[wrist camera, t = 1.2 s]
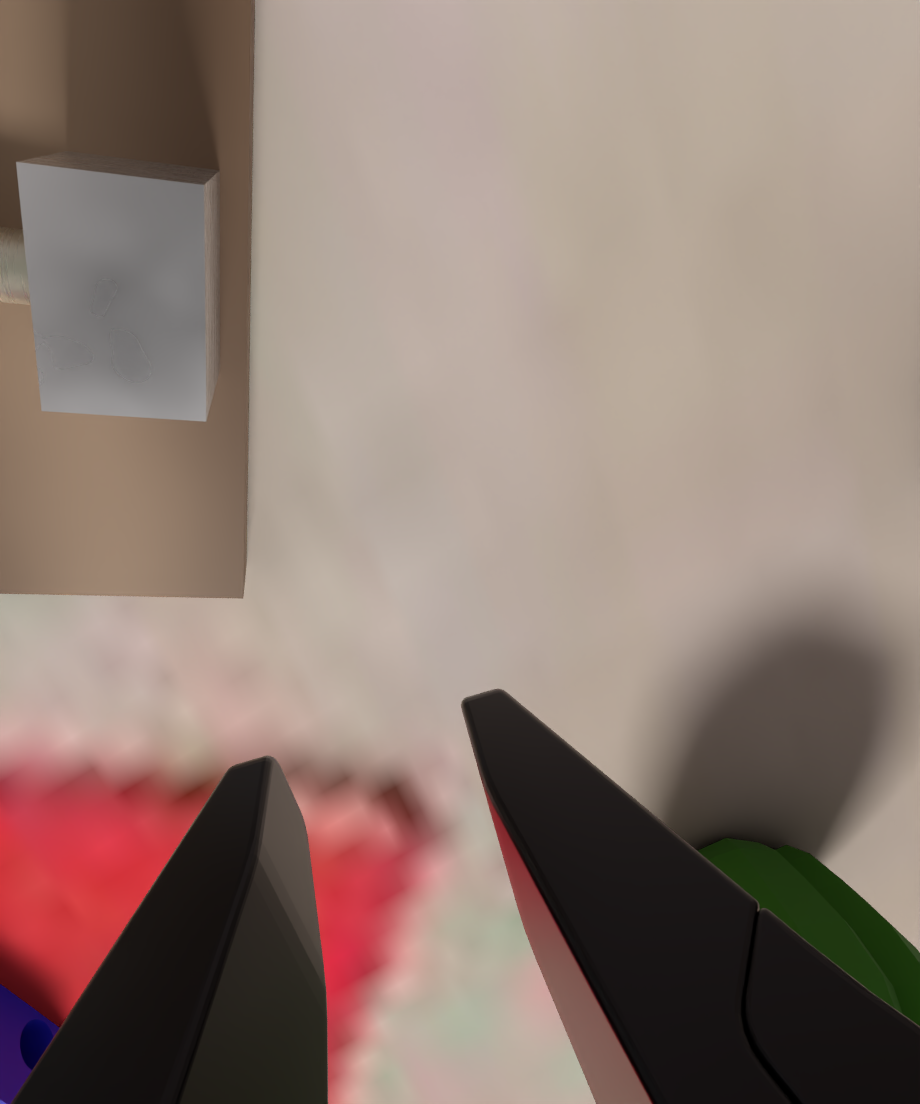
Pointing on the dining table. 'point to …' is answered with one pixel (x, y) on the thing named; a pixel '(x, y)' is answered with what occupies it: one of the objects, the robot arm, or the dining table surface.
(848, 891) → the bell pepper
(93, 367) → the rod with end blocks
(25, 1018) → the blue stepped block
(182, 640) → the dining table surface
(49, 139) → the cord board
